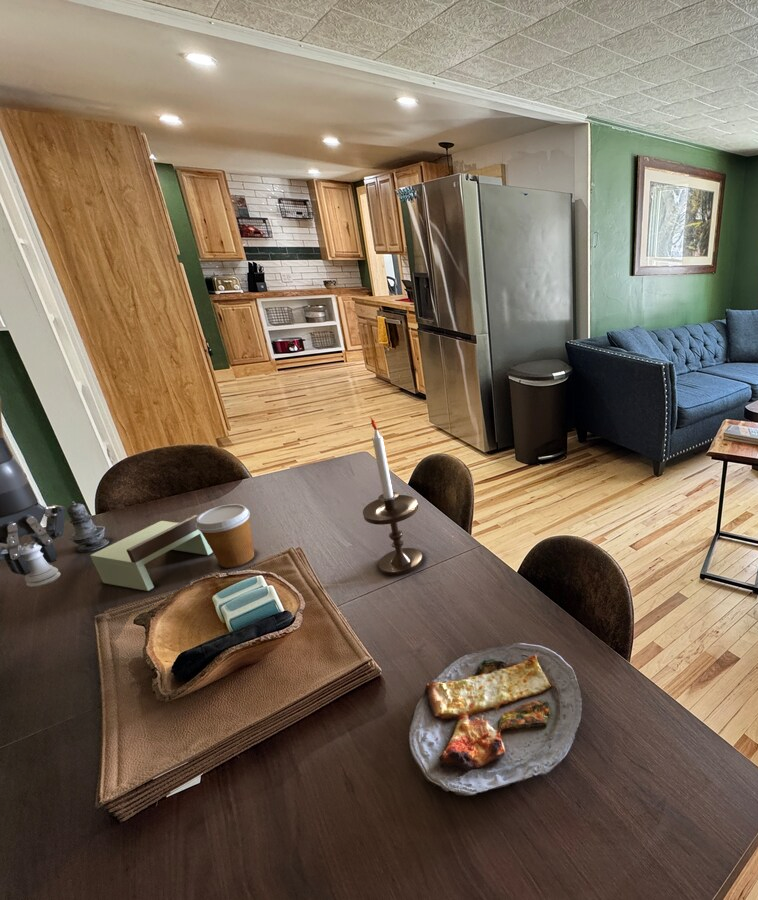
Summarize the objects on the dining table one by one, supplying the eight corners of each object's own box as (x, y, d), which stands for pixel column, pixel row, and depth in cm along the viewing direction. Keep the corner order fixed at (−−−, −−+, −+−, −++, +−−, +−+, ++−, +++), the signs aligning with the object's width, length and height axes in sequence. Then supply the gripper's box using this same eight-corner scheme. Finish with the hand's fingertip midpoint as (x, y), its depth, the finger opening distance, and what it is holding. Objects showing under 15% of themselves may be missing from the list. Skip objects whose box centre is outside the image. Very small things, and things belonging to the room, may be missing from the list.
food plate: (403, 825, 58) (399, 807, 56) (416, 674, 78) (412, 658, 77) (599, 768, 64) (599, 750, 63) (563, 642, 85) (562, 627, 83)
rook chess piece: (28, 580, 90) (9, 545, 87) (62, 570, 93) (45, 536, 90) (25, 591, 88) (6, 555, 85) (61, 581, 90) (43, 546, 87)
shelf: (103, 583, 99) (83, 542, 96) (171, 545, 112) (156, 509, 108) (148, 591, 97) (129, 550, 93) (212, 552, 110) (199, 515, 106)
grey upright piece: (69, 550, 110) (46, 505, 105) (99, 537, 115) (78, 493, 111) (87, 554, 109) (65, 509, 104) (117, 540, 114) (97, 496, 109)
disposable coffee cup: (271, 553, 109) (257, 508, 105) (227, 577, 101) (210, 529, 97) (246, 543, 113) (231, 499, 108) (201, 565, 105) (183, 518, 100)
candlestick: (404, 582, 100) (374, 427, 86) (363, 572, 103) (329, 421, 90) (436, 554, 110) (414, 410, 96) (398, 545, 113) (371, 405, 99)
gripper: (31, 467, 90) (68, 544, 96) (-81, 502, 77) (-30, 587, 84) (61, 472, 88) (97, 549, 95) (-49, 508, 76) (1, 594, 82)
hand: (37, 567), depth 89 cm, fingers closed on rook chess piece, 3 cm apart
